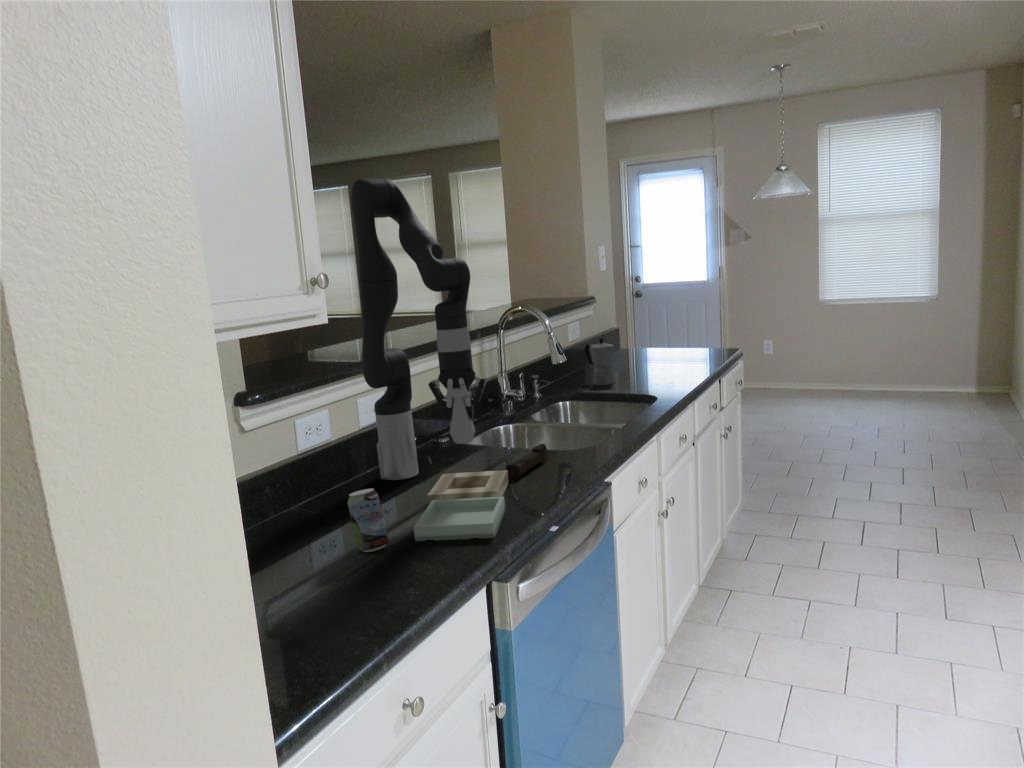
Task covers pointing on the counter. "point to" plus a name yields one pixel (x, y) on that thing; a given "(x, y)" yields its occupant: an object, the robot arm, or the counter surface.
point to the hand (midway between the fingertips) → (461, 421)
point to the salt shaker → (460, 419)
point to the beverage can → (367, 520)
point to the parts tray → (460, 519)
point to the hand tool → (527, 462)
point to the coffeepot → (601, 362)
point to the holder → (470, 485)
